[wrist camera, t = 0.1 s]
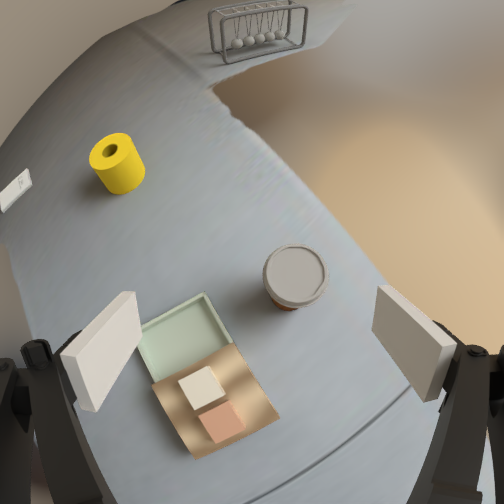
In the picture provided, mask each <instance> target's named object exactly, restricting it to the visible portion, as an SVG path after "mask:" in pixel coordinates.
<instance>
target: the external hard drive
mask: <svg viewBox="0 0 504 504" xmlns="http://www.w3.org/2000/svg"><path fill="white" fill-rule="evenodd" d="M31 186H32V182H31V179H30V174H29V170H28V168H27V169H26V170H24V171H23V172H22V173H21V174H20V175H19V176H18V177H17V178H16V179H14V180H13V181H12V182H11V183H10V184H9V185H8V186H7V187H6V188H5V189H4V190H3V191H2V192H1V193H0V206H1V211H2V212H3V213H4V212H5V211H6V210H7V209H8V208H9V207H10V206H11V205H12V204H13V203H14V202H15V201H16V200H17V199H18V198H19V197H20V196H21V195H22V194H23V193H25V192H26V191H27V190H28V189H29V188H30V187H31Z"/></svg>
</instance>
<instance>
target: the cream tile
mask: <svg viewBox="0 0 504 504" xmlns="http://www.w3.org/2000/svg"><path fill="white" fill-rule="evenodd" d="M178 382H179V384H180V386H181V388H182V390H183V391H184V393H185V395H186V397H187V398H188V400H189V402H190V404H191V405H192V407H193V409H194V410H196V409H198V408H200V407H202V406H204V405H206V404H208V403H210V402H212V401H214V400H216V399H218V398H220V397H222V396H224V395H225V394H226V393H225V391H224V390H223V388H222V386H221V385H220V383H219V381H218V380H217V378H216V376H215V375H214V373H213V371H212V369H211V368H210V366H206V367H204V368H202V369H200V370H198V371H196V372H194V373H192V374H191V375H189V376H187V377H185V378H183V379H181V380H179V381H178Z"/></svg>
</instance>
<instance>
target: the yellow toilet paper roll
mask: <svg viewBox="0 0 504 504" xmlns="http://www.w3.org/2000/svg"><path fill="white" fill-rule="evenodd" d="M89 162H90V165H91V166H92V168H93V169H94V170H95V172H96V173H97V175H98V176H99V178H100V179H101V180H102V182H103V183H104V185H105V186H106V187H107V189H108V190H109V191H110V192H111V193H113V194H118V195H120V194H125V193H128V192H130V191H132V190H134V189H135V188H136V187H137V186H138V185H139V184H140V183H141V182H142V180H143V178H144V175H145V167H144V165H143V163H142V161H141V159H140V157H139V155H138V153H137V150H136V148H135V146H134V144H133V142H132V140H131V138H130V137H129V136H128V135H127V134H124V133H115V134H112V135H109V136H107V137H105V138H103V139H102V140H101V141H99V142H98V143H97V144H96V145H95V147H94V148H93V149H92V151H91V153H90V157H89Z"/></svg>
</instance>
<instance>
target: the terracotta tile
mask: <svg viewBox="0 0 504 504" xmlns="http://www.w3.org/2000/svg"><path fill="white" fill-rule="evenodd" d="M198 417H199V419H200V420H201V422H202V423H203V425H204V427H205V428H206V430H207V431H208V433H209V434H210V436H211V438H212V439H213V441H214V442H215V444H217V443H219V442H221V441H223V440H225V439H227V438H229V437H231V436H233V435H235V434H237V433H239V432H241V431H243V430H245V429H246V425H245V423H244V422H243V420H242V419H241V417H240V416H239V414H238V412H237V411H236V409H235V408H234V406H233V404H232V403H231V401H230V400H227V401H225V402H223V403H221V404H219V405H217V406H215V407H213V408H211V409H209V410H207V411H205V412H203V413H201V414H200V415H199V416H198Z"/></svg>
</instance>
